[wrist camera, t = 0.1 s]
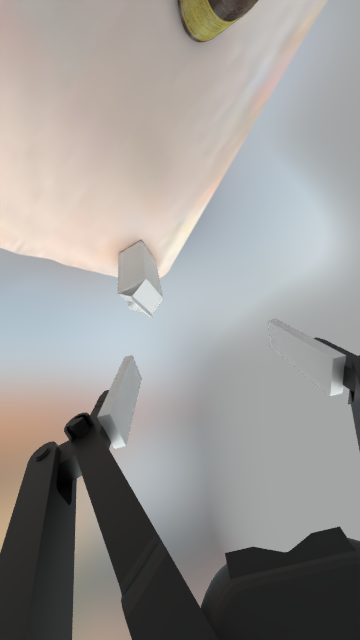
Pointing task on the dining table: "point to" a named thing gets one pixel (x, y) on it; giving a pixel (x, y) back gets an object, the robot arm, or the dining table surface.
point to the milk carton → (139, 279)
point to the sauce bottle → (211, 16)
